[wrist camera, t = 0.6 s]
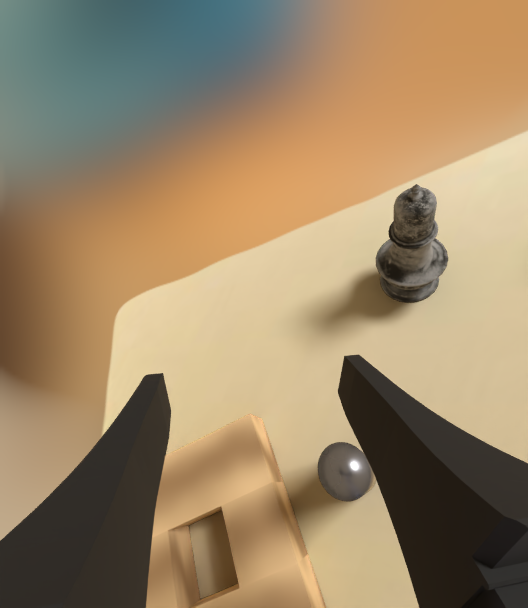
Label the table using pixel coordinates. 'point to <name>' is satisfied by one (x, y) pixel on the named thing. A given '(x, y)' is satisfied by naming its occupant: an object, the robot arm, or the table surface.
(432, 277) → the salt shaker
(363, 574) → the table surface
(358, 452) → the metal peg
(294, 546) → the oak hole block
